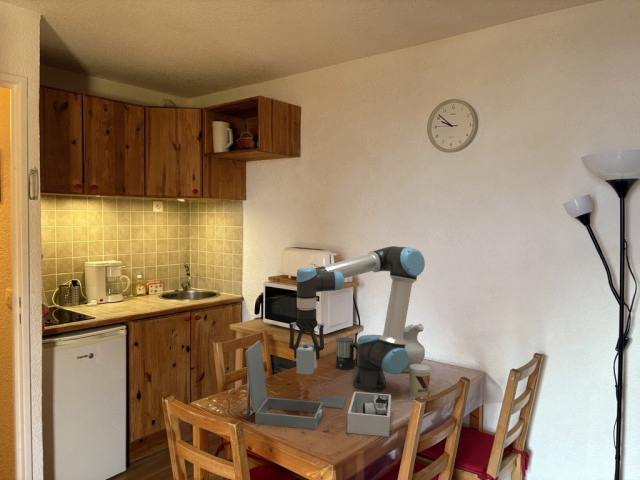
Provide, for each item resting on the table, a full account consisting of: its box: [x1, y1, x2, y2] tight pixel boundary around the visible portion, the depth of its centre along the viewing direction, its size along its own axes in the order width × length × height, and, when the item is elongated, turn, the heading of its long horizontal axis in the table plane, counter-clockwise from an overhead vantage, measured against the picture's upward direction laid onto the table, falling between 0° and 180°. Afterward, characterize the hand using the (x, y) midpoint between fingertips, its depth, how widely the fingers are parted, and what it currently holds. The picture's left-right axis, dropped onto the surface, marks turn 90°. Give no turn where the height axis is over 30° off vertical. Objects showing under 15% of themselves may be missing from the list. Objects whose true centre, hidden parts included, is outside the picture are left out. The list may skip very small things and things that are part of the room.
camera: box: [362, 395, 388, 416], centre depth 177 cm, size 16×9×10 cm, turn 179°
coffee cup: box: [408, 363, 432, 398], centre depth 207 cm, size 9×9×12 cm
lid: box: [244, 340, 268, 413], centre depth 181 cm, size 23×16×1 cm
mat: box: [317, 395, 347, 410], centre depth 195 cm, size 11×11×1 cm
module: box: [295, 342, 316, 375], centre depth 184 cm, size 6×10×10 cm, turn 170°
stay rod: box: [241, 372, 255, 417], centre depth 182 cm, size 4×4×24 cm
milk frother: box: [335, 336, 358, 371], centre depth 245 cm, size 14×16×15 cm
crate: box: [346, 391, 392, 438], centre depth 177 cm, size 15×22×7 cm
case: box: [254, 396, 324, 430], centre depth 179 cm, size 23×16×4 cm
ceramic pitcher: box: [402, 323, 426, 373], centre depth 242 cm, size 22×20×25 cm
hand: (306, 366), depth 184 cm, fingers closed on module, 6 cm apart
